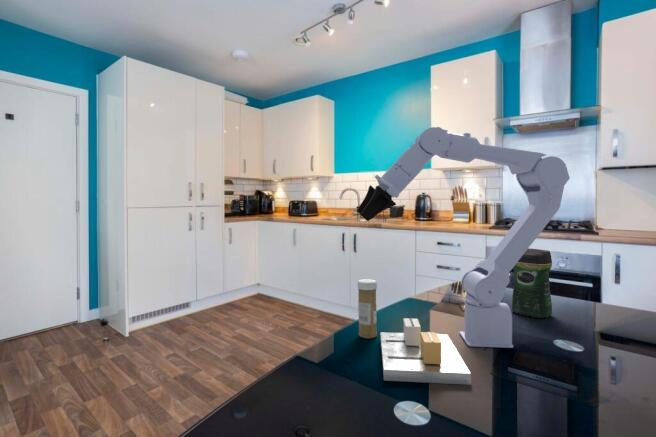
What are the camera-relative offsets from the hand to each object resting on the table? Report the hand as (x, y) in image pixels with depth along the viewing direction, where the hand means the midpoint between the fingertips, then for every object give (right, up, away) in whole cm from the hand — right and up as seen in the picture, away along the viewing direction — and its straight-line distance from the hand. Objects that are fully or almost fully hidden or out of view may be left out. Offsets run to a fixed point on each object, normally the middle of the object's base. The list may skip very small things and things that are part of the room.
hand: (361, 216), depth 79 cm
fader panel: (+11, -29, -10) cm, 33 cm away
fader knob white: (+10, -27, -6) cm, 29 cm away
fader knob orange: (+12, -27, -14) cm, 33 cm away
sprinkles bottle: (+2, -29, +4) cm, 29 cm away
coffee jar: (+50, -28, +18) cm, 60 cm away
